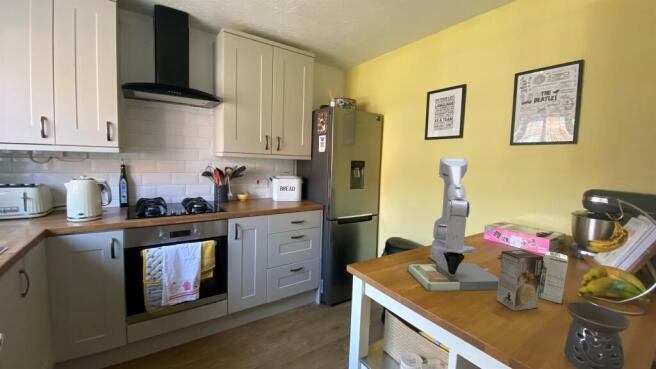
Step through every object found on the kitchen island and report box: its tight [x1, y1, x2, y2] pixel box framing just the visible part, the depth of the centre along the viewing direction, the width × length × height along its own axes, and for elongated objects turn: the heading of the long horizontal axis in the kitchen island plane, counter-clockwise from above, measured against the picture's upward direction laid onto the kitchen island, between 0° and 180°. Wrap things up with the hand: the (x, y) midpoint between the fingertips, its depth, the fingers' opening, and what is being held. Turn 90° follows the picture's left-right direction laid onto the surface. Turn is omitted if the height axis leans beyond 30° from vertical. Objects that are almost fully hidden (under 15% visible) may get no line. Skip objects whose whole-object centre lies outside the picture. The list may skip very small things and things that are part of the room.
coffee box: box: [496, 249, 544, 312], centre depth 83 cm, size 9×6×16 cm
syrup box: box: [539, 250, 569, 305], centre depth 88 cm, size 6×6×14 cm
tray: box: [407, 263, 460, 292], centre depth 98 cm, size 16×11×2 cm
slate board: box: [434, 262, 499, 292], centre depth 100 cm, size 16×16×3 cm
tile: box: [419, 266, 437, 277], centre depth 101 cm, size 4×4×2 cm
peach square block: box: [428, 273, 448, 282], centre depth 94 cm, size 4×4×2 cm
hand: (451, 273), depth 95 cm, fingers closed
